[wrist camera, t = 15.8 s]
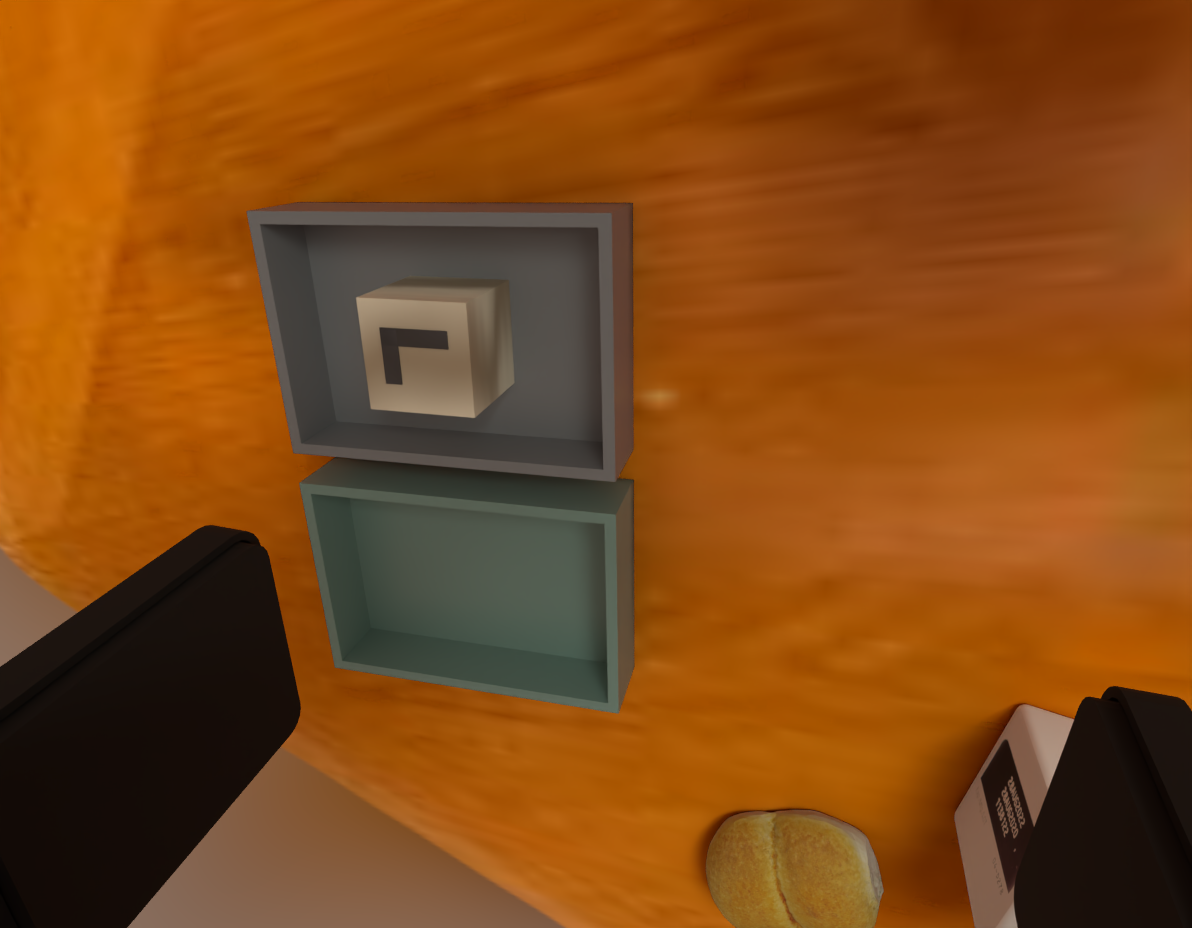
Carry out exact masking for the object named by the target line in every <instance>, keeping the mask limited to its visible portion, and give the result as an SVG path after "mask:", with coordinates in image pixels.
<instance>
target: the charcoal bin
mask: <svg viewBox="0 0 1192 928" xmlns="http://www.w3.org/2000/svg"><path fill="white" fill-rule="evenodd" d="M247 216H248V221H249V226H250V231H251V237H252V242H253V247H254V252H255V257H256V262H257V268H258V273H259V278H260V283H261V288H262V293H263V299H264V304H265V309H266V314H267V319H268V324H269V329H270V335H271V340H272V345H273V350H274V355H275V360H276V366H277V371H278V376H279V381H280V386H281V391H282V397H283V402H284V407H285V412H286V417H287V422H288V427H289V433H290V438H291V443H292V448H293V453H298V454H309V455H320V456H331V457H342V458H354V459H365V460H376V461H387V462H398V463H409V464H420V465H432V466H443V467H454V468H465V469H476V470H487V471H498V472H509V473H521V474H532V475H543V476H554V477H565V478H576V479H587V480H599V481H610V482H616V480H617V478H618V477H619V475H620V473H621V471H622V469H623V467H624V466H625V464H626V462H627V460H628V458H629V457H630V455H631V453H632V451H633V203H395V202H297V203H291V204H285V205H279V206H274V207H268V208H262V209H256V210H250V211H247ZM409 276H428V277H452V278H476V279H500V280H509V291H510V309H511V327H512V346H513V364H514V382H515V383H514V384H513V385H512V386H510V387H509V388H508V389H507V390H506V391H505V392H504V393H503V394H501V395H500V396H499V397H498V398H497V399H496V400H495V401H493V402H492V403H491V404H490V405H489V406H488V407H487V408H486V409H484V410H483V411H482V412H481V413H480V414H479V415H478V416H476V417H475V418H469V417H458V416H446V415H435V414H423V413H411V412H400V411H388V410H376V409H371V406H370V398H369V391H368V383H367V376H366V368H365V361H364V353H363V346H362V339H361V331H360V324H359V316H358V309H357V301H356V297H359V296H361V295H364V294H366V293H369V292H371V291H374V290H376V289H379V288H381V287H384V286H386V285H389V284H391V283H394V282H396V281H399V280H401V279H404V278H406V277H409Z"/></svg>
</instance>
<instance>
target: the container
mask: <svg viewBox="0 0 1192 928" xmlns="http://www.w3.org/2000/svg"><path fill="white" fill-rule="evenodd" d="M1073 722H1074V719H1071V718H1068V717H1065V716H1062V715H1059V714H1056V713H1053V712H1050V711H1047V710H1043V709H1040V708H1037V707H1034V706H1031V705H1027V704H1023V705H1020V706H1019V707H1018V708H1017V709H1016V711H1015V712H1014V714H1013V716H1012V717H1011V719H1010V721H1009V722H1008V724H1007V726H1006V727H1005V729H1004V731H1003V732H1002V734H1001V736H1000V738H999V739H998V741H997V743H996V744H995V746H994V748H993V749H992V751H991V753H990V754H989V756H988V758H987V759H986V761H985V763H984V764H983V766H982V768H981V769H980V771H979V773H978V775H977V776H976V778H975V780H974V781H973V783H972V785H971V786H970V788H969V790H968V791H967V793H966V795H965V796H964V798H963V800H962V801H961V803H960V805H959V807H958V808H957V810H956V812H955V816H954V820H955V825H956V830H957V836H958V841H959V846H960V851H961V857H962V862H963V867H964V872H965V878H966V883H967V888H968V893H969V899H970V904H971V909H972V914H973V920H974V925H975V928H1018V927H1017V922H1016V917H1015V910H1014V885H1015V878H1016V875H1017V872H1018V869H1019V866H1020V863H1021V861H1022V858H1023V855H1024V853H1025V850H1026V847H1027V845H1028V842H1029V839H1030V837H1031V834H1032V831H1033V829H1034V826H1035V823H1036V821H1037V818H1038V815H1039V813H1040V810H1041V807H1042V805H1043V802H1044V799H1045V797H1046V794H1047V791H1048V788H1049V786H1050V783H1051V780H1052V778H1053V775H1054V772H1055V770H1056V767H1057V764H1058V762H1059V759H1060V756H1061V754H1062V751H1063V748H1064V746H1065V743H1066V740H1067V738H1068V735H1069V732H1070V730H1071V727H1072V724H1073Z"/></svg>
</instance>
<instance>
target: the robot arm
mask: <svg viewBox="0 0 1192 928" xmlns="http://www.w3.org/2000/svg"><path fill="white" fill-rule="evenodd" d="M300 710H301V707H300V700H299V695H298V690H297V686H296V681H295V676H294V671H293V667H292V662H291V657H290V653H289V648H288V643H287V639H286V634H285V629H284V625H283V620H282V615H281V611H280V606H279V601H278V597H277V592H276V587H275V583H274V578H273V573H272V569H271V564H270V559H269V555H268V553H267V551H266V549H265V548H264V547H262V546H261V545H260V543H259V540H258V539H257V537H256V536H255V535H254V534H252V533H250V532H247V531H242V530H236V529H231V528H225V527H219V526H214V525H209V526H204V527H201V528H199V529H197V530H196V531H194V532H193V533H192V534H190V535H189V536H187V537H186V538H184V539H183V540H182V541H180V542H179V543H177V544H176V545H174V546H173V547H172V548H170V549H169V550H167V551H166V552H164V553H163V554H161V555H160V556H159V557H157V558H156V559H154V560H153V561H151V562H150V563H149V564H147V565H146V566H144V567H143V568H141V569H140V570H139V571H137V572H136V573H134V574H133V575H131V576H130V577H128V578H127V579H126V580H124V581H123V582H121V583H120V584H118V585H117V586H116V587H114V588H113V589H111V590H110V591H108V592H107V593H106V594H104V595H103V596H101V597H100V598H98V599H97V600H95V601H94V602H93V603H91V604H90V605H88V606H87V607H85V608H84V609H83V610H81V611H80V612H78V613H77V614H75V615H74V616H73V617H71V618H70V619H68V620H67V621H65V622H64V623H62V624H61V625H60V626H58V627H57V628H55V629H54V630H52V631H51V632H50V633H48V634H47V635H46V636H44V637H43V638H41V639H40V640H38V641H37V642H35V643H34V644H33V645H31V646H29V647H28V648H27V649H25V650H24V651H22V652H21V653H19V654H18V655H17V656H15V657H14V658H12V659H11V660H9V661H8V662H7V663H5V664H4V665H2V666H1V667H0V928H127V927H128V926H129V925H130V924H131V922H132V921H133V920H134V919H135V918H136V917H137V915H138V914H139V913H140V912H141V911H142V910H143V908H144V907H145V906H146V905H147V904H148V902H149V901H150V900H151V899H152V898H153V896H154V895H155V894H156V893H157V892H158V891H159V889H160V888H161V887H162V886H163V885H164V883H165V882H166V881H167V880H168V879H169V878H170V876H171V875H172V874H173V873H174V872H175V871H176V869H177V868H178V867H179V866H180V865H181V863H182V862H183V861H184V860H185V859H186V858H187V856H188V855H189V854H190V853H191V852H192V850H193V849H194V848H195V847H196V846H197V845H198V843H199V842H200V841H201V840H202V839H203V838H204V836H205V835H206V834H207V833H208V832H209V830H210V829H211V828H212V827H213V826H214V824H215V823H216V822H217V821H218V820H219V819H220V817H221V816H222V815H223V814H224V813H225V812H226V810H227V809H228V808H229V807H230V806H231V804H232V803H233V802H234V801H235V800H236V798H237V797H238V796H239V795H240V794H241V793H242V791H243V790H244V789H245V788H246V787H247V785H248V784H249V783H250V782H251V781H252V780H253V778H254V777H255V776H256V775H257V774H258V773H259V771H260V770H261V769H262V768H263V767H264V766H265V764H266V763H267V762H268V761H269V760H270V758H271V757H272V756H273V755H274V754H275V752H276V751H277V750H278V749H279V748H280V747H281V745H282V744H283V743H284V742H285V741H286V740H287V738H288V737H289V736H290V735H291V733H292V732H293V730H294V729H295V727H296V725H297V723H298V719H299V716H300ZM1014 910H1015V917H1016V922H1017V927H1018V928H1192V711H1191V709H1190V708H1189V706H1188V705H1187V704H1186V702H1185V701H1184V700H1182V699H1180V698H1178V697H1174V696H1168V695H1162V694H1157V693H1151V692H1145V691H1140V690H1134V689H1129V688H1123V687H1117V686H1113V687H1109V688H1108V689H1107V690H1106V691H1105V692H1104V693H1103V695H1102V697H1101V699H1099V698H1094V697H1086V698H1085V699H1083V700H1082V702H1081V704H1080V706H1079V708H1078V711H1077V713H1076V716H1075V719H1074V722H1073V724H1072V727H1071V730H1070V732H1069V735H1068V738H1067V740H1066V743H1065V746H1064V748H1063V751H1062V754H1061V756H1060V759H1059V762H1058V764H1057V767H1056V770H1055V772H1054V775H1053V778H1052V780H1051V783H1050V786H1049V788H1048V791H1047V794H1046V797H1045V799H1044V802H1043V805H1042V807H1041V810H1040V813H1039V815H1038V818H1037V821H1036V823H1035V826H1034V829H1033V831H1032V834H1031V837H1030V839H1029V842H1028V845H1027V847H1026V850H1025V853H1024V855H1023V858H1022V861H1021V863H1020V866H1019V869H1018V872H1017V875H1016V878H1015V885H1014Z"/></svg>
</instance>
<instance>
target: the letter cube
mask: <svg viewBox="0 0 1192 928" xmlns="http://www.w3.org/2000/svg"><path fill="white" fill-rule="evenodd" d="M356 301H357V309H358V316H359V324H360V331H361V339H362V346H363V353H364V361H365V368H366V376H367V383H368V391H369V398H370V406H371V409H376V410H388V411H400V412H411V413H423V414H435V415H446V416H458V417H469V418H475V417H476V416H478V415H479V414H480V413H481V412H482V411H483V410H484V409H486V408H487V407H488V406H489V405H490V404H491V403H492V402H493V401H495V400H496V399H497V398H498V397H499V396H500V395H501V394H503V393H504V392H505V391H506V390H507V389H508V388H509V387H510V386H512V385H513V384H514V383H515V382H514V364H513V346H512V327H511V309H510V291H509V280H500V279H476V278H452V277H428V276H409V277H406V278H404V279H401V280H399V281H396V282H394V283H391V284H389V285H386V286H384V287H381V288H379V289H376V290H374V291H371V292H369V293H366V294H364V295H361V296H359V297H356Z"/></svg>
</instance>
